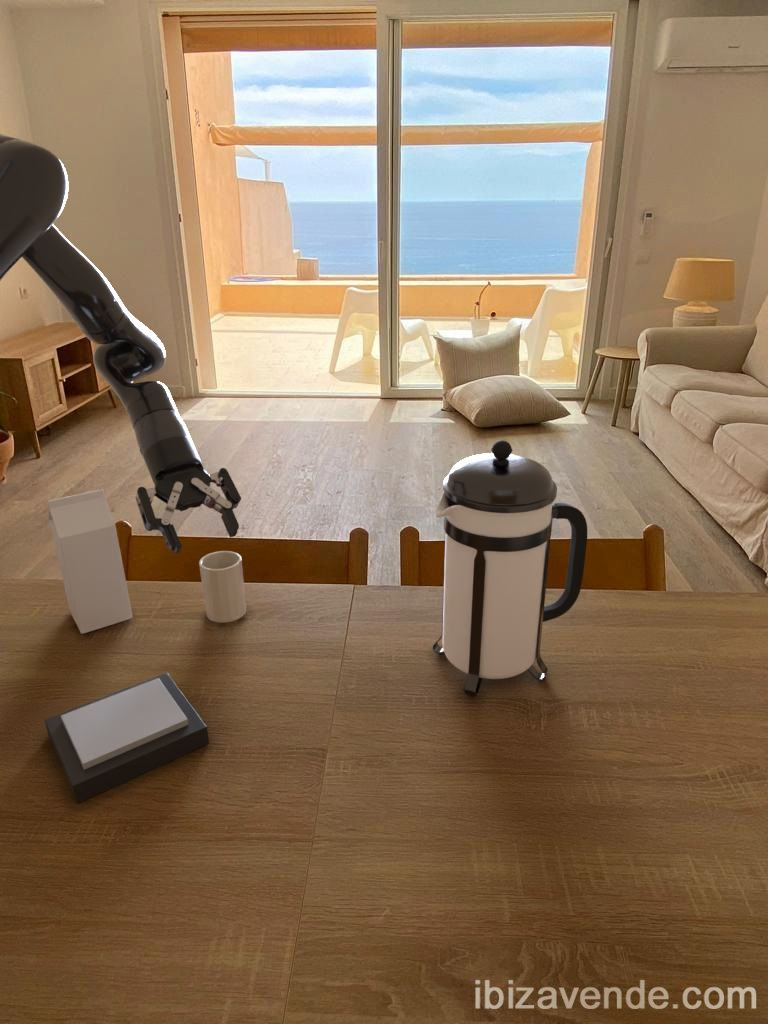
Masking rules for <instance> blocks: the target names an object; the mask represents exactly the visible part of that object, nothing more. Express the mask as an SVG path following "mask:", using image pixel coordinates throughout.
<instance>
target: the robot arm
mask: <svg viewBox="0 0 768 1024" xmlns="http://www.w3.org/2000/svg"><path fill="white" fill-rule="evenodd" d="M68 180H69V179H68V174H67V171H66V168H65V167H64V164H63V163H62V161H61V160H60V159H59V158H58V157H57V155H56V154H55V153H54V152H52V151H51V150H49V149H47V148H45V147H43V146H41V145H39V144H37V143H34V142H31V141H28V140H24V139H20V138H16V137H13V136H9V135H6V134H2V133H0V282H1V281H2V280H3V278H4V277H5V276H6V275H7V274H8V272H10V270H11V269H12V268H13V267H14V266H15V265H16V264H17V263H18V262H19V260H21V258H22V260H24V261H25V263H27V264H28V265H29V267H30V268H31V270H33V271H34V273H36V275H37V276H38V277H39V278H40V279H41V280H42V281H43V283H44V284H45V285H46V286H47V287H48V289H49V290H50V291H51V293H52V294H53V295H54V296H55V297H56V299H57V300H58V302H59V303H60V304H61V305H62V306H63V308H64V309H65V311H66V312H67V313H68V315H69V316H70V317H71V319H72V320H73V321H74V323H75V324H76V326H77V328H79V330H80V331H81V332H82V333H83V335H84V336H85V338H87V340H89V341H90V342H92V343H94V344H97V346H96V347H95V349H94V350H93V354H92V361H93V365H94V368H95V369H96V372H97V373H98V374H99V376H100V377H101V378H102V379H103V380H104V381H105V383H106V384H107V385H108V386H109V387H110V388H111V390H112V391H113V392H114V393H115V394H116V396H117V398H118V399H119V400H120V402H121V404H122V405H123V407H124V409H125V411H126V414H127V416H128V419H129V422H130V424H131V426H132V429H133V431H134V435H135V438H136V439H135V440H136V443H137V445H138V448H139V453H140V455H141V456H142V459H143V460H144V462H145V465H146V468H147V470H148V472H149V473H148V474H149V475H150V478H151V480H152V482H153V484H154V487H150V488H146V487H144V486H139V487H137V490H136V494H135V501H136V504H137V507H138V510H139V514H140V516H141V521H142V522H143V526H144V529H145V530H146V531H148V532H152V531H159V532H160V533H161V534H162V537H163V540H164V542H165V544H166V547H167V549H168V550H169V551H170V552H173V553H174V554H179V553H181V551H182V549H183V547H182V543H181V541H180V538H179V536H178V533H177V531H176V528H175V526H174V524H173V523H172V524H171V521H172V518H173V515H174V513H175V511H180V512H185V511H187V510H189V509H191V508H194V509H196V508H199V507H201V506H202V505H203V506H205V507H206V508H209V509H213V510H214V511H216V512H217V513H220V514H221V516H220V517H221V520H222V523H223V525H224V527H225V529H226V532H227V534H228V536H229V538H234V537H236V535H237V534H238V530H239V529H240V524H239V522H238V520H237V516H236V514H235V513H234V509H237V507H238V506H239V503H240V502H241V500H242V496H241V495H240V493H239V491H238V488H237V487H236V484H235V483H234V481H233V479H232V477H231V474H230V473H229V471H228V468H225V467H220V469H219V471H216V472H213V473H210V474H209V473H208V472H207V471H206V470H205V468H204V466H203V463H202V461H201V458H200V456H199V453H198V451H197V448H196V446H195V443H194V442H193V440H192V437H191V435H190V433H189V430H188V428H187V426H186V424H185V422H184V421H183V419H182V417H181V416H180V413H179V411H178V409H177V407H176V404H175V402H174V400H173V397H172V394H171V392H170V390H169V389H168V387H167V386H166V385H165V384H164V383H162V382H160V381H157V380H147V381H141V382H137V381H139V380H141V379H143V378H145V377H148V376H150V375H153V374H155V373H156V372H157V373H158V372H159V371H160V370H162V369H163V368H164V366H165V364H166V359H167V354H166V350H165V347H164V344H163V343H162V342H161V340H160V339H159V338H158V337H157V335H156V334H155V333H154V332H153V331H152V330H150V329H149V328H148V327H147V326H145V324H143V323H142V322H140V321H139V320H138V319H137V318H136V317H135V316H134V315H132V313H130V311H128V309H127V308H126V306H125V305H124V303H123V302H122V300H121V299H120V297H119V296H118V294H117V292H116V291H115V290H114V288H113V287H112V285H111V283H110V282H109V281H108V279H107V278H106V277H105V276H104V274H103V273H102V272H101V271H100V270H99V269H98V268H97V267H96V266H95V265H94V263H92V261H90V260H89V259H88V258H87V257H86V256H85V255H84V254H83V253H82V252H81V251H80V250H79V249H78V248H77V247H76V246H74V244H73V243H71V242H70V240H68V239H67V238H66V237H65V235H64V234H63V233H62V232H61V230H60V231H59V229H58V227H56V226H55V225H54V224H55V222H56V221H57V219H58V218H59V216H60V215H61V213H62V212H63V210H64V207H65V204H66V201H67V199H68V192H69V181H68ZM212 483H213V484H215V486H216V487H218V488H220V490H221V491H222V493H223V495H224V497H223V496H222V495H221V493H220V492H218V491H216V490H215V489H214V488H212V487H211V484H212ZM154 497H156V498H157V499H159V500H160V501H162V502H163V503H164V504H166V506H165V509H164V512H163V514H162V517H161V518H158V517H156V515H155V513H154V509H153V506H152V503H153V502H154Z"/></svg>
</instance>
